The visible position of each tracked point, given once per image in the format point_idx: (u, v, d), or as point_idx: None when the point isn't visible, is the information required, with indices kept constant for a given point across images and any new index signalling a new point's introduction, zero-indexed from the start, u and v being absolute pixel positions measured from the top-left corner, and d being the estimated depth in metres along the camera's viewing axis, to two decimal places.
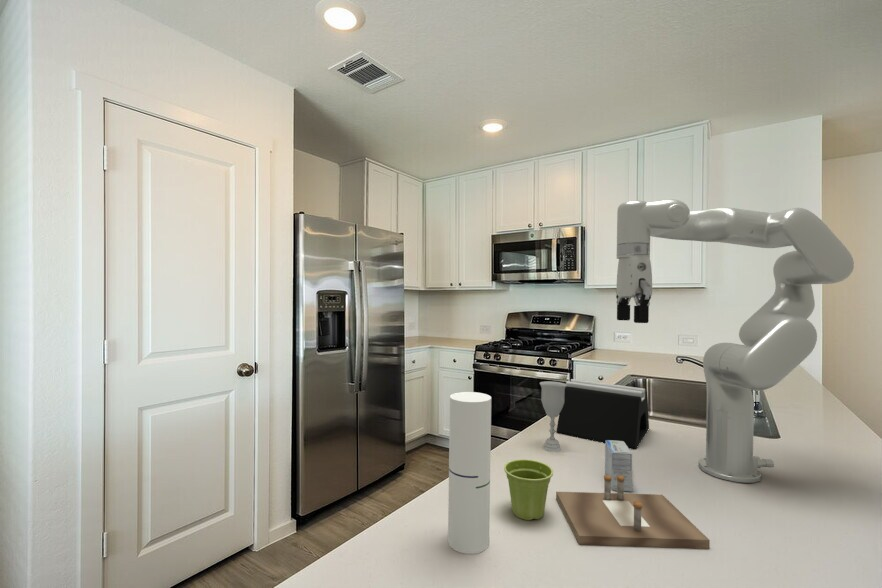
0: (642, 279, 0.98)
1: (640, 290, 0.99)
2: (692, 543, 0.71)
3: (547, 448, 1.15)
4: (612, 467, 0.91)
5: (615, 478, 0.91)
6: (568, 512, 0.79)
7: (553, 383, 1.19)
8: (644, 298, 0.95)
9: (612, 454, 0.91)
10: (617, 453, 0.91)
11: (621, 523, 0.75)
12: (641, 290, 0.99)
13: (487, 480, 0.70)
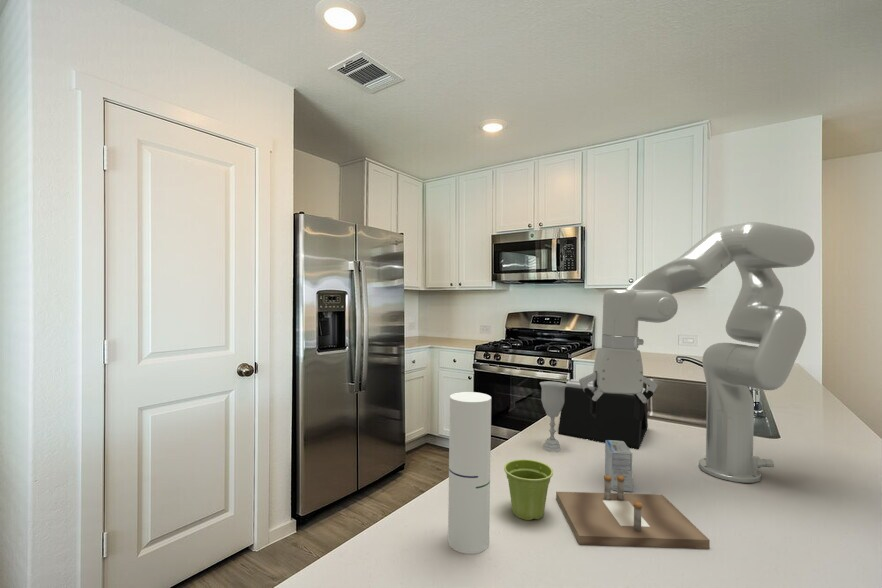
0: None
1: None
2: (692, 543, 0.71)
3: (547, 448, 1.15)
4: (612, 467, 0.91)
5: (615, 478, 0.91)
6: (568, 512, 0.79)
7: (553, 383, 1.19)
8: None
9: (612, 454, 0.91)
10: (617, 453, 0.91)
11: (621, 523, 0.75)
12: None
13: (487, 480, 0.70)
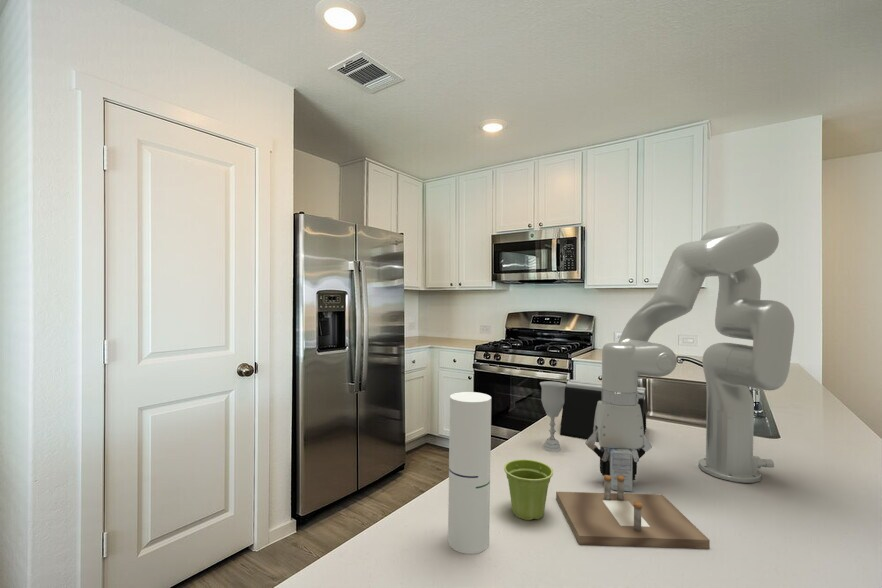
0: None
1: None
2: (692, 543, 0.71)
3: (547, 448, 1.15)
4: (612, 467, 0.91)
5: (615, 478, 0.91)
6: (568, 512, 0.79)
7: (553, 383, 1.19)
8: None
9: (612, 454, 0.91)
10: (617, 453, 0.91)
11: (621, 523, 0.75)
12: None
13: (487, 480, 0.70)
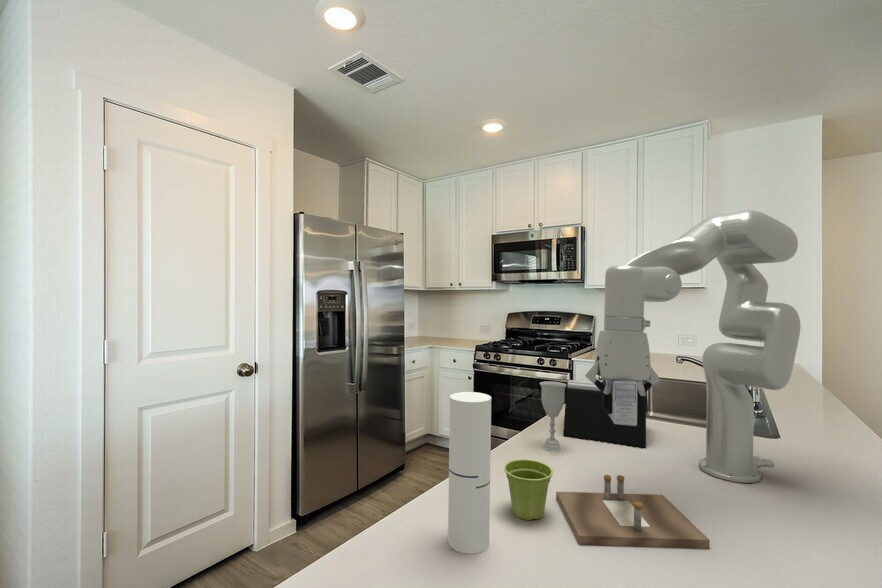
0: None
1: None
2: (692, 543, 0.71)
3: (547, 448, 1.15)
4: (615, 399, 0.83)
5: (618, 411, 0.83)
6: (568, 512, 0.79)
7: (553, 383, 1.19)
8: None
9: (614, 385, 0.83)
10: (620, 384, 0.83)
11: (621, 523, 0.75)
12: None
13: (487, 480, 0.70)
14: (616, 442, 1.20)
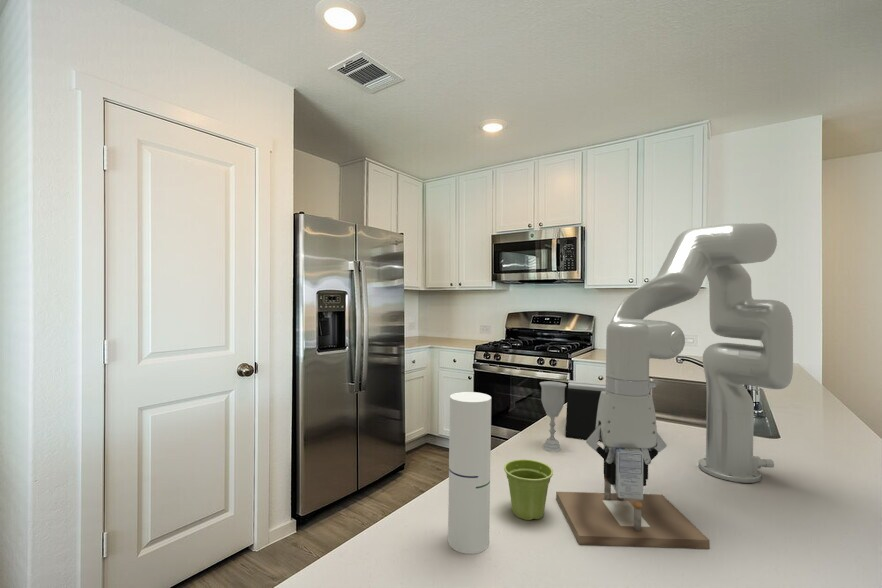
0: None
1: None
2: (692, 543, 0.71)
3: (547, 448, 1.15)
4: (619, 470, 0.76)
5: (622, 483, 0.75)
6: (568, 512, 0.79)
7: (553, 383, 1.19)
8: None
9: (618, 455, 0.76)
10: (624, 454, 0.75)
11: (621, 523, 0.75)
12: None
13: (487, 480, 0.70)
14: None
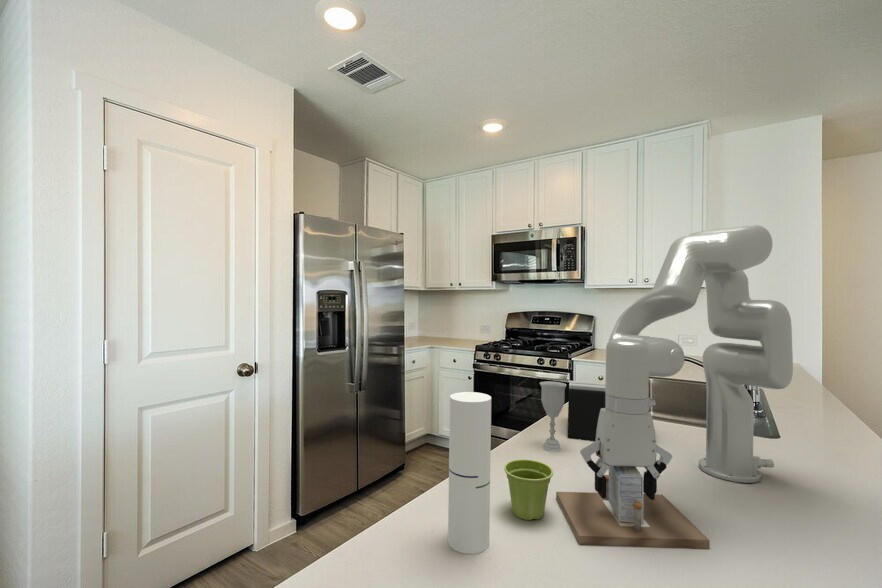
0: None
1: None
2: (692, 543, 0.71)
3: (547, 448, 1.15)
4: (619, 494, 0.76)
5: (623, 507, 0.75)
6: (568, 512, 0.79)
7: (553, 383, 1.19)
8: None
9: (619, 478, 0.76)
10: (625, 477, 0.75)
11: (621, 523, 0.75)
12: None
13: (487, 480, 0.70)
14: None
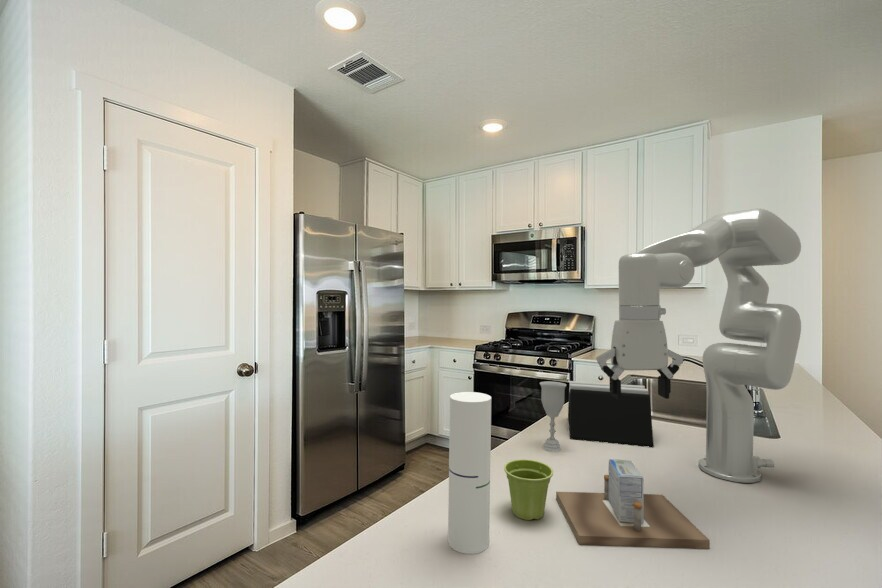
0: None
1: None
2: (692, 543, 0.71)
3: (547, 448, 1.15)
4: (619, 494, 0.76)
5: (623, 507, 0.75)
6: (568, 512, 0.79)
7: (553, 383, 1.19)
8: None
9: (619, 478, 0.76)
10: (625, 477, 0.75)
11: (621, 523, 0.75)
12: None
13: (487, 480, 0.70)
14: (624, 442, 1.20)
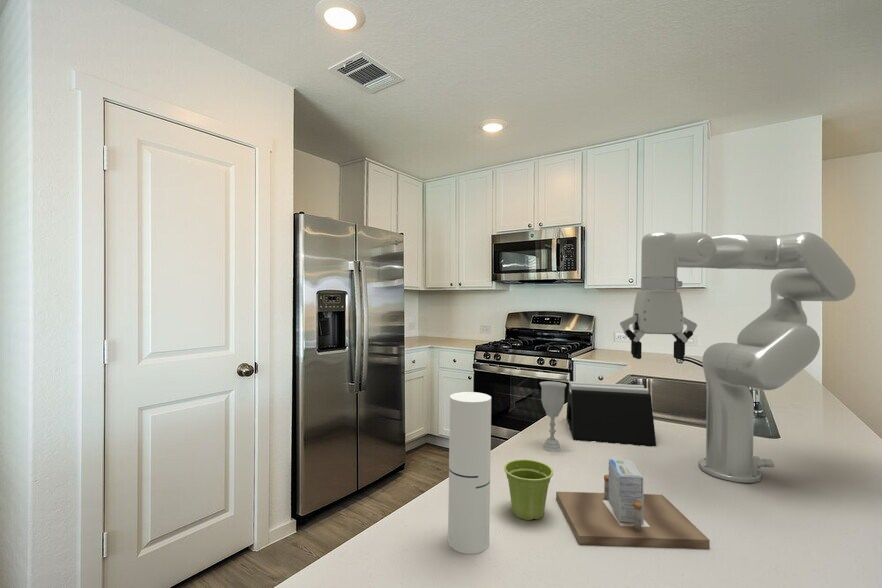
0: None
1: None
2: (692, 543, 0.71)
3: (547, 448, 1.15)
4: (619, 494, 0.76)
5: (623, 507, 0.75)
6: (568, 512, 0.79)
7: (553, 383, 1.19)
8: None
9: (619, 478, 0.76)
10: (625, 477, 0.75)
11: (621, 523, 0.75)
12: None
13: (487, 480, 0.70)
14: (627, 442, 1.20)
